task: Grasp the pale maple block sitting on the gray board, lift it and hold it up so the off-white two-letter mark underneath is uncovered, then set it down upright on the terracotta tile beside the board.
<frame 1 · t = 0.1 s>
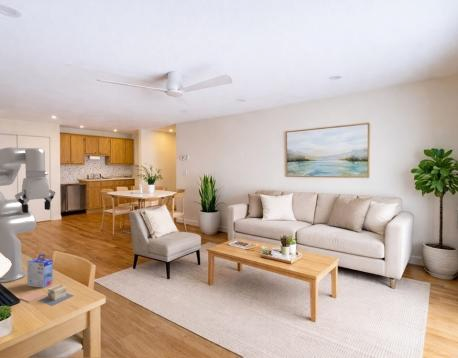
hand: (36, 211, 129), 37 cm above the table, tool pointing down, fingers open, 9 cm apart
terracotta tile: (33, 297, 121), on the table
maple block: (57, 296, 122), resting on gray board
gray board: (56, 298, 121), on the table
ink cartridge box: (40, 285, 134), on the table
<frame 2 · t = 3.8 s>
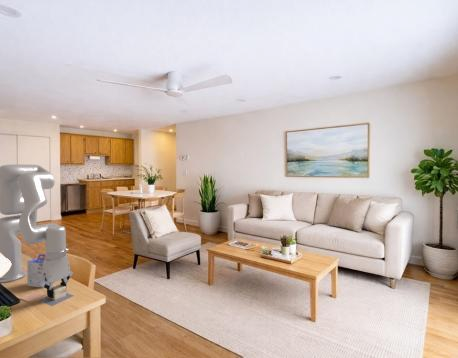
hand: (57, 294, 122), 1 cm above the table, tool pointing down, fingers closed on maple block, 5 cm apart
maple block: (57, 296, 122), resting on gray board, touching gripper
everything else where it was.
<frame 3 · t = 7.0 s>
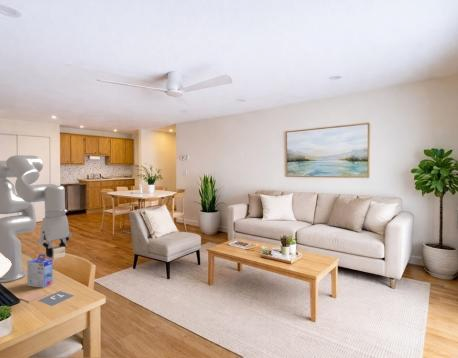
hand: (56, 254, 121), 19 cm above the table, tool pointing down, fingers closed on maple block, 5 cm apart
maple block: (56, 256, 121), point 18 cm above the table, touching gripper
everything else where it was.
when the fingers open (3 cm above the table, at t = 10.1 s): maple block drops 1 cm, resting on terracotta tile.
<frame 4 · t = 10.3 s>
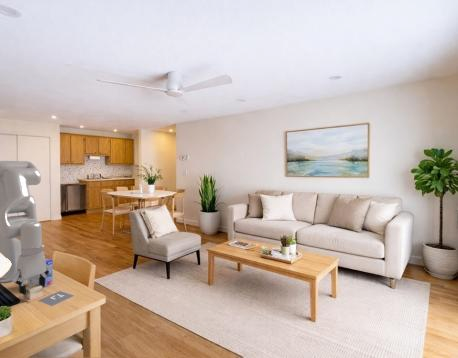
hand: (32, 289, 121), 3 cm above the table, tool pointing down, fingers open, 7 cm apart
maple block: (33, 296, 121), resting on terracotta tile
everything else where it was.
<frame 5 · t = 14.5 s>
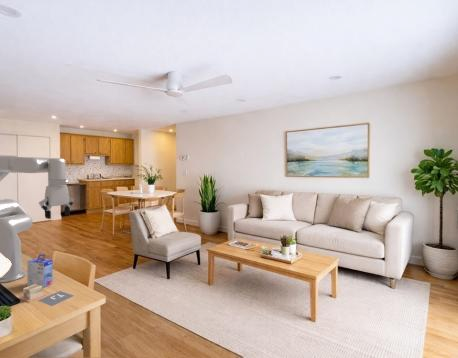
hand: (57, 216, 138), 32 cm above the table, tool pointing down, fingers open, 9 cm apart
nothing on the table moved.
at the end: maple block 0.0 cm off-centre on the terracotta tile, point 0.5 cm above the terracotta tile's base; maple block tilted 0°; maple block moved 10.3 cm from its start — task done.
